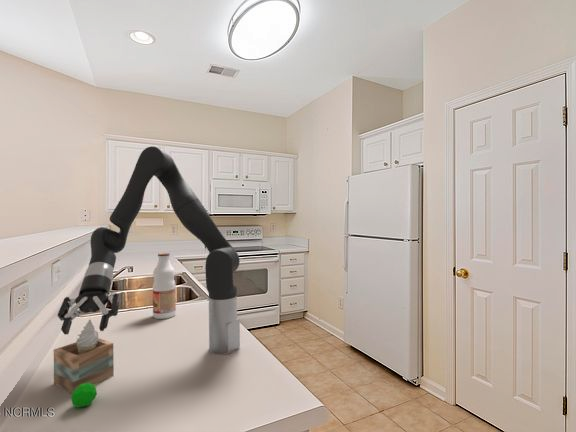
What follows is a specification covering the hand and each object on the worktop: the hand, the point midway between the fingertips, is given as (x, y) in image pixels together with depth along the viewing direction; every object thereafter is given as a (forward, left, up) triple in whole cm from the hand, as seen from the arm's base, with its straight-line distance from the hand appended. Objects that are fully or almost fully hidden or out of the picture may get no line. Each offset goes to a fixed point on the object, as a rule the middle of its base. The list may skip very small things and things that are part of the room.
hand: (83, 331), depth 81 cm
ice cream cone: (+1, 0, -10) cm, 10 cm away
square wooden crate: (0, 0, -13) cm, 13 cm away
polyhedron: (-12, +6, -13) cm, 19 cm away
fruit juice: (+26, -46, -13) cm, 55 cm away
